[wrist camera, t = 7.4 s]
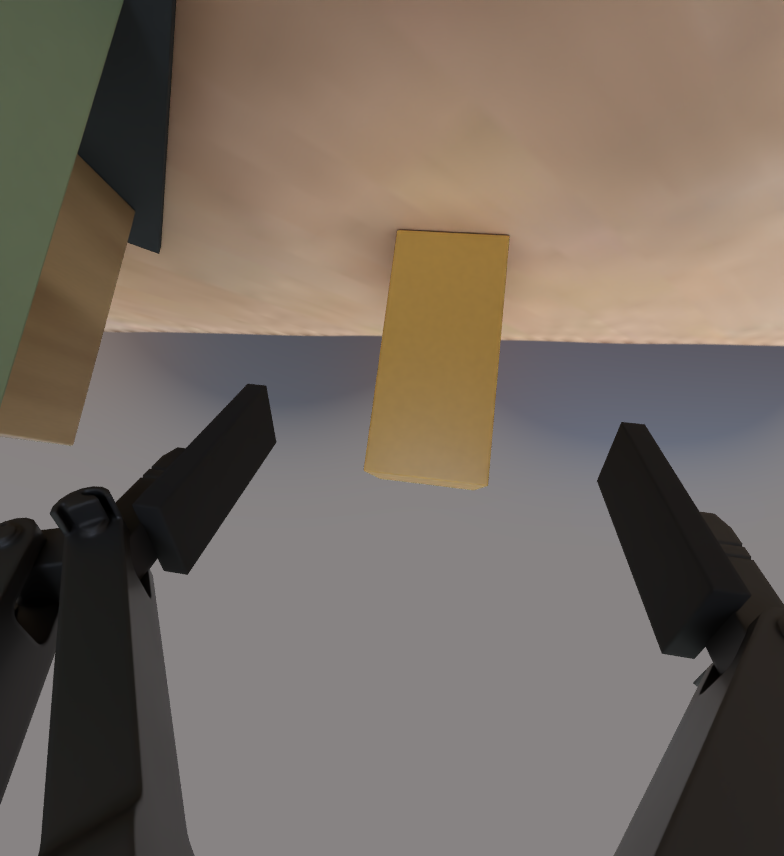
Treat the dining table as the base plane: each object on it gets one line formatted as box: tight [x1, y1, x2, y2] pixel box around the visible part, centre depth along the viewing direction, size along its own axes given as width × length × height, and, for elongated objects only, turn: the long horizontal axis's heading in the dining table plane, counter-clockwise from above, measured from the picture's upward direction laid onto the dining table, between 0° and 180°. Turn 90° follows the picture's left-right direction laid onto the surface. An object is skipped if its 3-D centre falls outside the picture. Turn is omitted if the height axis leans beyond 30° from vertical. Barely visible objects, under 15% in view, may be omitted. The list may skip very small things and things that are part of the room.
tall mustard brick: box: [364, 230, 509, 490], centre depth 20 cm, size 5×5×11 cm
